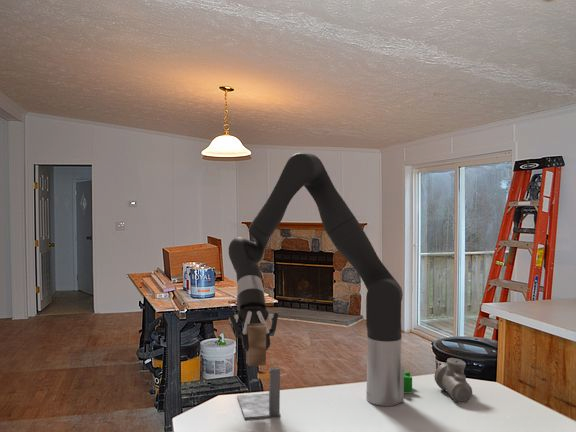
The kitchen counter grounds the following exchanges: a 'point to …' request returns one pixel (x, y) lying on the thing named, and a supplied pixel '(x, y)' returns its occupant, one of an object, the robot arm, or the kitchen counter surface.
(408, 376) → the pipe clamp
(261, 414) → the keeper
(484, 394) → the kitchen counter surface
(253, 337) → the link block
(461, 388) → the pipe fitting
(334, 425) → the kitchen counter surface
